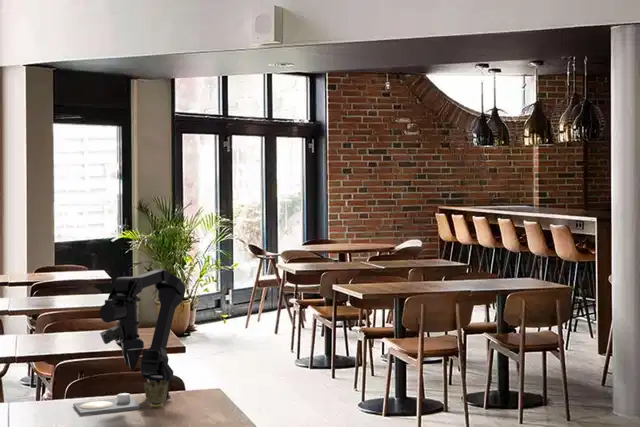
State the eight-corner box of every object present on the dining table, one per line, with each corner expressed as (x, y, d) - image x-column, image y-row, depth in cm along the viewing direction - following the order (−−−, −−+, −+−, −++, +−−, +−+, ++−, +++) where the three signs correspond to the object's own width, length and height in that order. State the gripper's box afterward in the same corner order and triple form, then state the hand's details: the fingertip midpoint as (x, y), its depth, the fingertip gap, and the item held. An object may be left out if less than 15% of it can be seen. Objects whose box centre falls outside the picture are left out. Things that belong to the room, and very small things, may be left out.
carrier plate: (130, 400, 310) (129, 389, 310) (140, 408, 297) (139, 397, 297) (73, 406, 303) (72, 395, 302) (80, 415, 290) (80, 404, 290)
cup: (171, 404, 301) (170, 379, 301) (165, 410, 294) (164, 384, 294) (148, 405, 302) (147, 379, 302) (141, 410, 295) (140, 384, 294)
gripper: (97, 315, 304) (99, 364, 304) (105, 324, 286) (107, 376, 287) (133, 313, 308) (134, 361, 308) (143, 320, 290) (145, 372, 291)
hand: (129, 367), depth 298 cm, fingers open, 9 cm apart
